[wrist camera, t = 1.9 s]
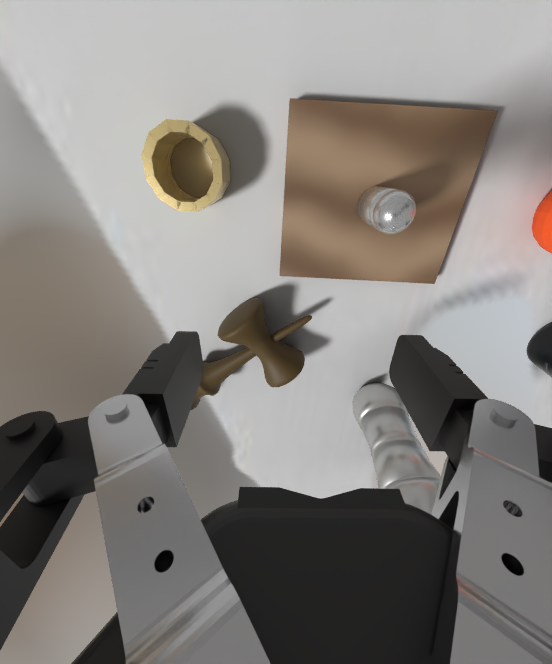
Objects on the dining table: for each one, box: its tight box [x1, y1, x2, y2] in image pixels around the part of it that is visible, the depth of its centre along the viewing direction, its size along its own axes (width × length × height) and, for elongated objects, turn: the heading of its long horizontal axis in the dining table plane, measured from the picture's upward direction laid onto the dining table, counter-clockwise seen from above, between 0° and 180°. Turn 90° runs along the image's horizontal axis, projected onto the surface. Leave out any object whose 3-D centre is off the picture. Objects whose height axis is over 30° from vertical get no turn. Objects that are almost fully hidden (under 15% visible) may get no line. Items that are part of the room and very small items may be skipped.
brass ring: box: [142, 119, 230, 212], centre depth 23 cm, size 6×6×4 cm
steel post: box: [356, 186, 416, 234], centre depth 21 cm, size 3×3×6 cm
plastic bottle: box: [353, 383, 441, 514], centre depth 29 cm, size 6×7×20 cm
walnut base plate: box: [280, 98, 498, 284], centre depth 25 cm, size 14×16×2 cm
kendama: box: [190, 297, 312, 410], centre depth 32 cm, size 6×10×20 cm
